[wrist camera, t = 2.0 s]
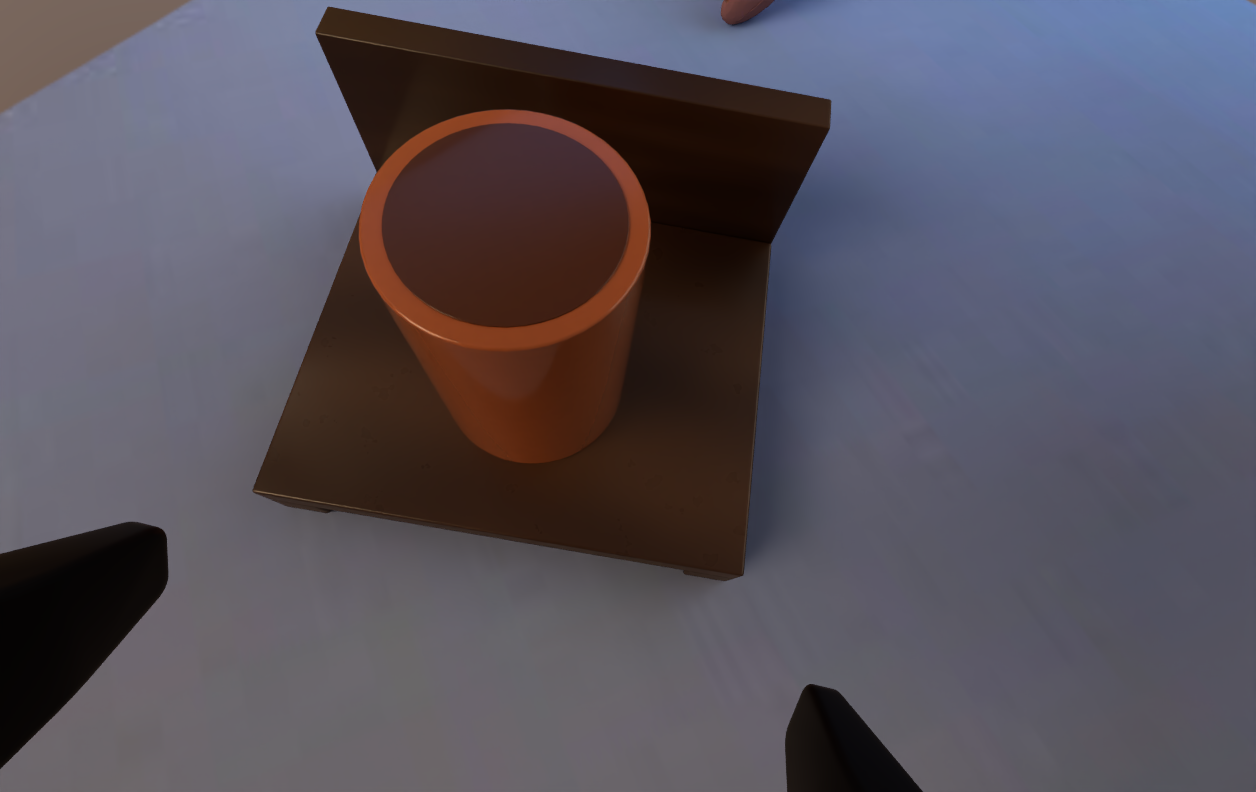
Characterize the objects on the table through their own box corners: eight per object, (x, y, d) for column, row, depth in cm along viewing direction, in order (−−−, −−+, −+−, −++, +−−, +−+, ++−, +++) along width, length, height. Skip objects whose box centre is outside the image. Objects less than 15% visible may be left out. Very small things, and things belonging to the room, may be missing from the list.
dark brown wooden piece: (726, 581, 22) (811, 557, 14) (285, 506, 22) (116, 437, 14) (757, 253, 27) (831, 99, 19) (401, 189, 27) (327, 5, 19)
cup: (518, 502, 20) (474, 410, 11) (409, 366, 21) (297, 195, 13) (658, 389, 22) (710, 239, 13) (549, 272, 23) (533, 66, 14)
